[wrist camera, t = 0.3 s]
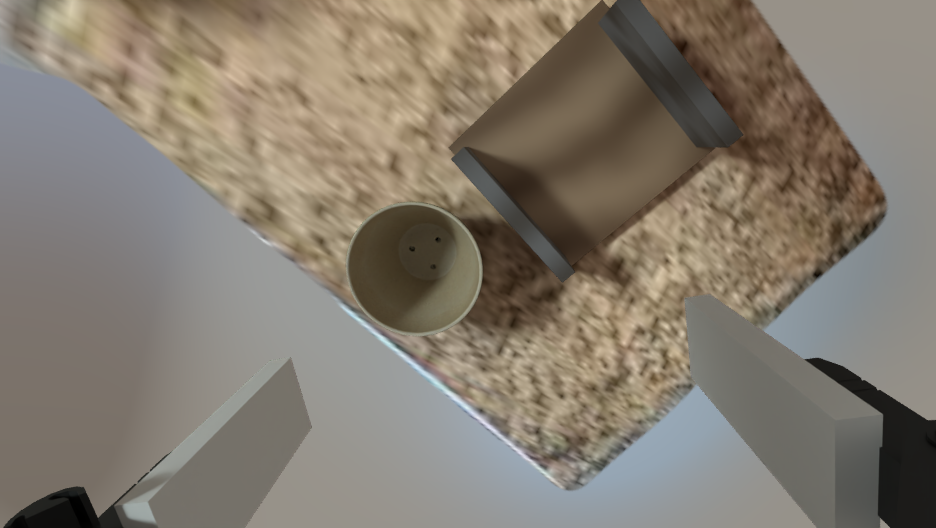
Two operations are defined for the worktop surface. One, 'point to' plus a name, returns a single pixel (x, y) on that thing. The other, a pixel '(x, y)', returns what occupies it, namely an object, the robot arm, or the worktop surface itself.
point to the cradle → (592, 134)
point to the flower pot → (414, 268)
